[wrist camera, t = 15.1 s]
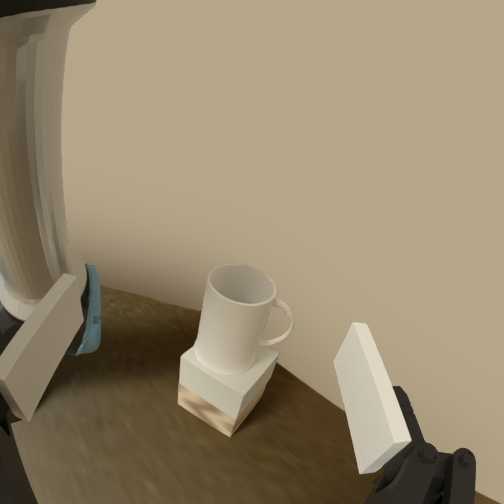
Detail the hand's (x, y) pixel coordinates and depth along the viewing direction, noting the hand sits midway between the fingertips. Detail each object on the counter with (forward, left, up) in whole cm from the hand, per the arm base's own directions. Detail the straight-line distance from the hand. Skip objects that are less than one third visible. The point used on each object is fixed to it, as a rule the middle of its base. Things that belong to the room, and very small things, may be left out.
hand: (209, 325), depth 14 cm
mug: (-6, +19, -22) cm, 30 cm away
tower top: (-6, +19, -28) cm, 34 cm away
